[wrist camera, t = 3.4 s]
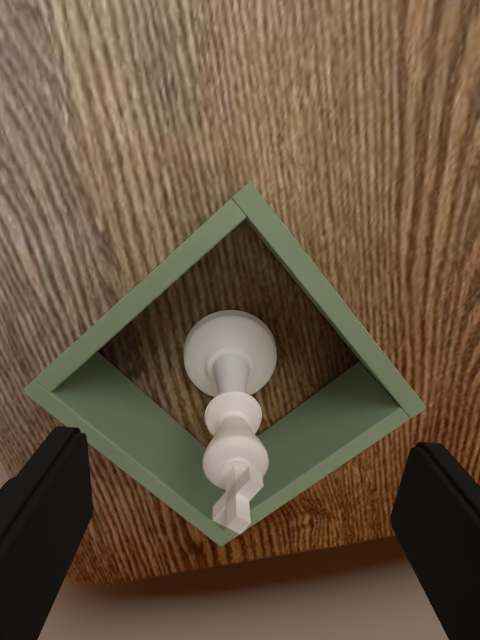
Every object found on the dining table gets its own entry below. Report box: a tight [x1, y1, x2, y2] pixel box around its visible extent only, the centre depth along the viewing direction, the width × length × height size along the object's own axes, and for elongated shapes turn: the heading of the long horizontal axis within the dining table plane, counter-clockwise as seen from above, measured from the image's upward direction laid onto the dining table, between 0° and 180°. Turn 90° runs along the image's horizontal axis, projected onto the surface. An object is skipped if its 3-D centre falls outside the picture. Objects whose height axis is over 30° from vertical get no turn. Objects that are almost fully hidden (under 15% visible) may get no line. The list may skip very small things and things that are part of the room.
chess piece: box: [183, 310, 277, 534], centre depth 13 cm, size 5×5×10 cm
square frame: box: [22, 182, 426, 546], centre depth 15 cm, size 12×12×4 cm
